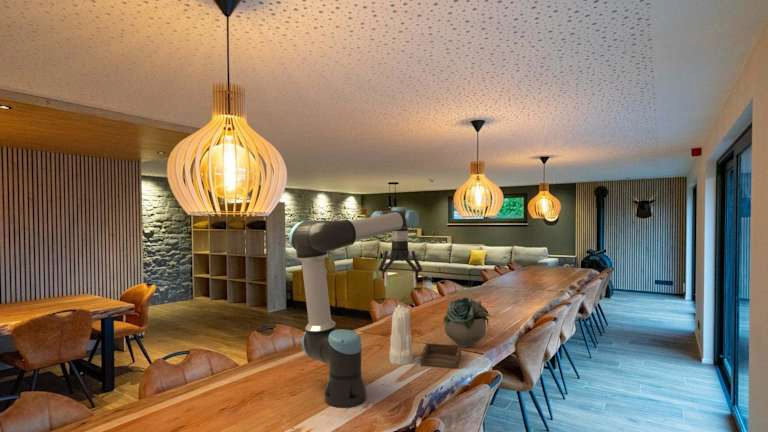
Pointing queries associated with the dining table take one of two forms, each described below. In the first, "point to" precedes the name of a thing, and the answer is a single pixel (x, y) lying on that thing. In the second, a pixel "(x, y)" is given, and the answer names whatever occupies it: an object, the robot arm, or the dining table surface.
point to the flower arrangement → (466, 321)
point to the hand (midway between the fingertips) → (400, 286)
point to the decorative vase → (401, 337)
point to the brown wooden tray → (441, 356)
